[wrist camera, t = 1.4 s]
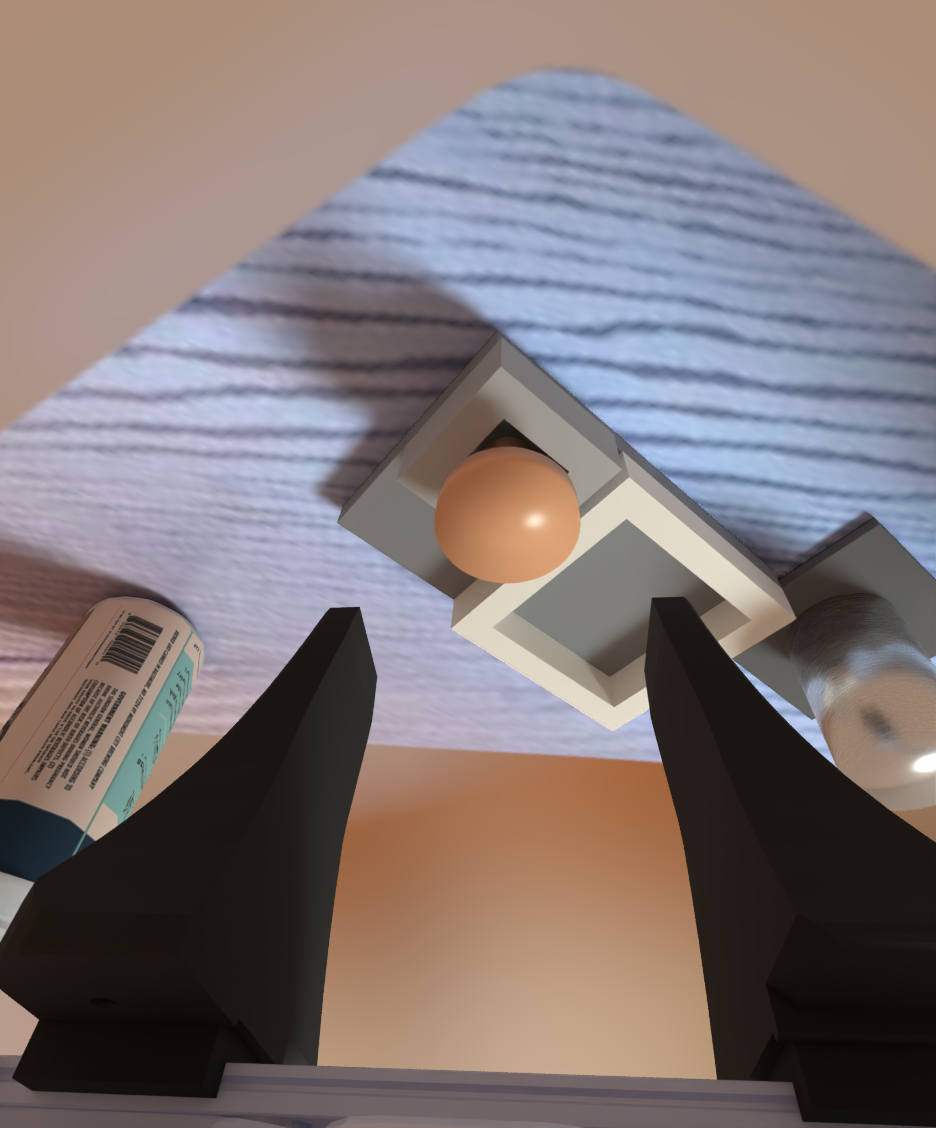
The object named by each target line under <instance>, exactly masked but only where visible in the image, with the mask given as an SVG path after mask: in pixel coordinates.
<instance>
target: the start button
mask: <svg viewBox="0 0 936 1128" xmlns="http://www.w3.org/2000/svg"><path fill="white" fill-rule="evenodd" d="M580 526H581V523H580V512H579V505H578V498H577V493H576V490H575V487H574V485H573V483H572V481H571V479H570V477H569V476H568V475H567V473H566V472H565V471H564V470H563V469H562V468H561V467H560V466H559V465H558V464H557V463H556V462H554V461H553V460H551V459H550V458H548V457H546V456H544V455H543V454H540V453H538V452H535V451H533V450H532V448H531V447H530V446H529V445H528V444H527V443H526V442H524V441H522V440H520V439H518V438H514V437H502V438H498V439H496V440H493V441H492V442H490V443H489V444H488V445H487V446H486V447H485V448H484V449H483V451H480V452H477V453H475V454H473V455H471V456H469V457H467V458H465V459H464V460H462V461H461V462H460V463H458V464H457V465H456V466H455V467H454V468H453V469H452V470H451V471H450V472H449V474H448V475H447V476H446V478H445V479H444V481H443V483H442V485H441V488H440V490H439V494H438V498H437V504H436V510H435V518H434V530H435V535H436V539H437V541H438V544H439V546H440V548H441V550H442V551H443V553H444V554H445V555H446V557H447V558H448V559H449V560H450V561H451V562H452V563H453V564H454V565H455V566H456V567H458V568H459V569H460V570H462V571H464V572H465V573H467V574H469V575H471V576H473V577H475V578H478V579H481V580H484V581H489V582H494V583H521V582H526V581H530V580H534V579H537V578H539V577H542V576H544V575H546V574H548V573H550V572H551V571H553V570H554V569H556V568H557V567H558V566H560V565H561V564H562V563H563V562H564V561H565V560H566V559H567V558H568V556H569V555H570V554H571V552H572V551H573V549H574V548H575V545H576V543H577V541H578V537H579V534H580Z"/></svg>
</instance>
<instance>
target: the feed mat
mask: <svg viewBox="0 0 936 1128" xmlns="http://www.w3.org/2000/svg"><path fill="white" fill-rule="evenodd" d="M778 581H779V583H780V585H781V587H782V589H783V592H784V594H785V596H786V598H787V600H788V602H789V604H790V606H791V608H792V610H793V612H794V615H795V617H796V618H797V617H798V616H799V615H800V614H801V613H802V612H803V611H805V610H806V609H808V608H809V607H811V606H813V605H814V604H816V603H818V602H820V601H823V600H825V599H828V598H831V597H834V596H838V595H843V594H851V593H866V594H872V595H877V596H880V597H882V598H885V599H886V600H888V601H890V602H891V603H892V604H893V605H894V606H895V607H896V608H897V610H898V611H899V613H900V614H901V616H902V617H903V619H904V620H905V622H906V623H907V625H908V626H909V628H910V629H911V631H912V632H913V634H914V635H915V637H916V638H917V640H918V641H919V643H920V644H921V646H922V647H923V649H924V650H925V652H926V653H927V655H928V656H929V658H932V657H934V656H936V579H935V578H934V577H933V576H932V575H931V574H930V573H929V572H928V571H927V570H926V569H925V568H924V567H923V566H922V565H921V564H920V563H919V562H918V561H917V560H916V559H915V558H914V557H913V556H912V555H911V554H910V553H909V552H908V551H907V550H906V549H905V548H904V547H903V546H902V545H901V544H900V543H899V542H898V541H897V540H896V539H895V538H894V537H893V536H892V535H891V534H890V533H889V532H888V531H887V530H886V529H885V528H884V527H883V526H882V525H881V524H880V523H879V522H878V521H877V520H876V519H875V518H873V519H871V520H870V521H868V522H867V523H865V524H864V525H862V526H861V527H859V528H858V529H856V530H855V531H853V532H852V533H850V534H848V535H847V536H845V537H844V538H842V539H841V540H839V541H838V542H836V543H835V544H833V545H832V546H830V547H829V548H827V549H826V550H824V551H822V552H821V553H819V554H818V555H816V556H815V557H813V558H812V559H810V560H809V561H807V562H806V563H804V564H803V565H801V566H800V567H798V568H796V569H795V570H793V571H792V572H790V573H789V574H787V575H786V576H784V577H783V578H781V579H780V580H778ZM792 622H793V621H792ZM792 622H791V623H789V624H787V625H786V626H784V627H783V628H781V629H779V630H778V631H776V632H774V633H773V634H771V635H769V636H768V637H766V638H765V639H763V640H761V641H760V642H758V643H756V644H755V645H753V646H752V647H750V648H748V649H747V650H745V651H743V652H742V653H740V654H738V655H737V656H735V657H734V658H732V659H733V660H734V661H735V662H737V663H738V664H739V665H741V666H742V667H743V668H745V669H746V670H747V671H749V672H750V673H751V674H752V675H754V676H755V677H756V678H758V679H759V680H760V681H762V682H763V683H764V684H766V685H767V686H768V687H770V688H771V689H772V690H773V691H775V692H776V693H777V694H779V695H780V696H781V697H783V698H784V699H785V700H787V701H788V702H789V703H790V704H792V705H793V706H794V707H796V708H797V709H798V710H800V711H801V712H802V713H804V714H805V715H806V716H807V717H809V718H810V719H811V720H813V719H815V716H814V713H813V711H812V709H811V707H810V704H809V702H808V700H807V697H806V695H805V693H804V691H803V688H802V686H801V684H800V681H799V679H798V677H797V675H796V672H795V670H794V668H793V665H792V663H791V661H790V659H789V656H788V654H787V652H786V649H785V635H786V633H787V630H788V628H789V627H790V625H791V624H792Z"/></svg>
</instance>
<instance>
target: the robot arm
mask: <svg viewBox="0 0 936 1128" xmlns="http://www.w3.org/2000/svg"><path fill="white" fill-rule="evenodd" d="M644 673H645V681H646V688H647V695H648V702H649V709H650V715H651V720H652V724H653V728H654V732H655V736H656V740H657V743H658V747H659V751H660V755H661V758H662V762H663V766H664V770H665V773H666V777H667V781H668V784H669V788H670V791H671V796H672V799H673V803H674V807H675V811H676V814H677V818H678V822H679V826H680V831H681V835H682V839H683V844H684V850H685V856H686V862H687V868H688V874H689V881H690V887H691V893H692V898H693V906H694V912H695V919H696V925H697V932H698V938H699V945H700V952H701V959H702V966H703V974H704V981H705V987H706V995H707V1002H708V1009H709V1017H710V1026H711V1034H712V1042H713V1049H714V1057H715V1064H716V1074H717V1080H711V1079H682V1078H653V1077H624V1076H623V1077H622V1076H595V1075H594V1076H593V1075H565V1074H537V1073H536V1074H534V1073H508V1072H479V1071H450V1070H420V1069H392V1068H364V1067H361V1068H360V1067H335V1066H333V1067H332V1066H317V1059H318V1047H319V1036H320V1025H321V1014H322V1003H323V993H324V983H325V974H326V965H327V956H328V947H329V938H330V930H331V922H332V915H333V906H334V899H335V892H336V885H337V878H338V871H339V864H340V857H341V850H342V844H343V839H344V834H345V829H346V824H347V819H348V816H349V812H350V808H351V804H352V800H353V796H354V792H355V788H356V784H357V779H358V776H359V772H360V768H361V764H362V760H363V756H364V752H365V748H366V744H367V740H368V736H369V732H370V727H371V723H372V716H373V708H374V701H375V692H376V682H377V674H376V670H375V666H374V662H373V658H372V654H371V650H370V646H369V642H368V638H367V634H366V630H365V626H364V622H363V618H362V614H361V610H360V607H342V608H330V609H329V610H328V611H327V612H326V613H325V614H324V616H323V617H322V618H321V620H320V621H319V623H318V624H317V625H316V627H315V628H314V629H313V631H312V632H311V633H310V635H309V636H308V637H307V639H306V640H305V641H304V643H303V644H302V645H301V647H300V648H299V649H298V651H297V652H296V653H295V655H294V656H293V657H292V659H291V660H290V661H289V662H288V664H287V665H286V666H285V667H284V669H283V670H282V671H281V672H280V674H279V675H278V676H277V677H276V678H275V680H274V681H273V682H272V683H271V685H270V686H269V687H268V688H267V689H266V691H265V692H264V693H263V694H262V695H261V696H260V697H259V699H258V700H257V701H256V702H255V703H254V704H253V705H252V706H251V708H250V709H249V710H248V711H247V712H246V713H245V714H244V716H243V717H242V718H241V719H240V720H239V721H238V722H237V723H236V724H235V725H234V726H233V727H232V728H231V729H230V730H229V731H228V733H227V734H226V735H225V736H224V737H223V738H222V739H221V740H220V741H219V742H218V743H216V745H214V746H213V747H212V748H211V749H210V750H209V751H208V752H207V753H206V754H205V755H204V756H203V757H202V758H201V759H200V760H199V761H198V762H196V763H195V764H194V765H193V766H192V767H191V768H190V769H189V770H187V771H186V772H185V773H184V774H183V775H181V776H180V777H179V778H178V779H177V780H176V781H174V782H173V783H172V784H171V785H170V786H168V787H167V788H166V789H165V790H164V791H162V792H161V793H160V794H159V795H158V796H156V797H155V798H154V799H153V800H151V801H150V802H149V803H147V804H146V805H145V806H143V807H142V808H141V809H140V810H138V811H137V812H136V813H134V814H133V815H132V816H130V817H129V818H127V819H126V820H125V821H123V822H122V823H120V824H119V825H118V826H116V827H115V828H114V829H112V830H111V831H109V832H108V833H106V834H105V835H104V836H102V837H101V838H99V839H98V840H96V841H95V842H93V843H92V844H90V845H89V846H87V847H86V848H84V849H83V850H81V851H79V852H78V853H76V854H75V855H73V856H72V857H70V858H69V859H67V860H65V861H64V862H62V863H61V864H59V865H58V866H56V867H55V868H53V869H51V870H50V871H48V872H47V873H45V874H43V875H42V876H40V877H38V878H37V879H36V881H35V882H34V884H33V886H32V887H31V889H30V890H29V892H28V894H27V895H26V897H25V898H24V900H23V902H22V903H21V905H20V907H19V909H18V911H17V913H16V914H15V916H14V918H13V920H12V922H11V923H10V925H9V927H8V929H7V931H6V932H5V934H4V936H3V938H2V940H1V942H0V989H1V990H2V991H3V992H4V993H6V994H7V995H8V996H10V997H11V998H12V999H13V1000H15V1001H16V1002H17V1003H18V1004H20V1005H21V1006H22V1007H24V1008H25V1009H26V1010H28V1011H29V1012H30V1013H31V1014H33V1015H34V1016H35V1017H36V1018H38V1019H39V1022H38V1024H37V1026H36V1028H35V1030H34V1032H33V1034H32V1036H31V1038H30V1040H29V1043H28V1045H27V1047H26V1049H25V1051H24V1053H23V1055H22V1056H17V1055H15V1056H14V1055H0V1128H936V842H934V841H933V840H931V839H929V838H928V837H927V836H925V835H924V834H923V833H921V832H920V831H918V830H917V829H915V828H914V827H913V826H911V825H910V824H908V823H907V822H905V821H904V820H903V819H901V818H900V817H898V816H897V815H896V814H894V813H893V812H892V811H890V810H889V809H888V808H886V807H885V806H884V805H883V804H881V803H880V802H879V801H877V800H876V799H875V798H874V797H872V796H871V795H870V794H869V793H867V792H866V791H865V790H863V789H862V788H861V787H860V786H858V785H857V784H856V783H854V782H853V781H852V780H851V779H849V778H848V777H847V776H846V775H844V774H843V773H842V772H841V771H840V770H839V769H838V768H836V767H835V766H834V765H833V764H832V763H831V762H830V761H828V760H827V759H826V758H825V757H824V756H823V755H821V754H820V753H819V752H818V751H817V750H816V749H815V748H814V747H813V746H812V745H811V744H810V743H809V742H807V741H806V740H805V739H804V738H803V737H802V736H801V735H800V734H799V733H798V732H797V731H796V730H795V729H794V728H793V727H792V726H791V725H790V724H789V723H788V722H787V721H786V720H785V719H784V718H783V717H782V716H781V715H780V714H779V713H778V712H777V711H776V710H775V709H774V707H773V706H772V705H771V704H770V703H769V702H768V701H767V700H766V699H765V698H764V697H763V696H762V695H761V693H760V692H759V691H758V690H757V689H756V688H755V687H754V685H753V684H752V683H751V682H750V681H749V680H748V678H747V677H746V676H745V675H744V674H743V672H742V671H741V670H740V669H739V668H738V666H737V665H736V664H735V663H734V662H733V660H732V659H731V658H730V657H729V655H728V654H727V653H726V652H725V650H724V649H723V648H722V647H721V645H720V644H719V643H718V641H717V640H716V639H715V637H714V636H713V635H712V633H711V632H710V630H709V629H708V628H707V626H706V625H705V624H704V622H703V621H702V619H701V618H700V616H699V615H698V614H697V612H696V611H695V609H694V608H693V606H692V605H691V603H690V602H689V601H688V600H687V599H686V598H685V597H653V598H652V599H651V609H650V618H649V628H648V638H647V648H646V657H645V667H644Z"/></svg>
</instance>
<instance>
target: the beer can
mask: <svg viewBox="0 0 936 1128" xmlns="http://www.w3.org/2000/svg"><path fill="white" fill-rule="evenodd" d="M204 659H205V647H204V644H203V641H202V638H201V636H200V635H199V633H198V631H197V630H196V629H195V628H194V626H193V625H192V624H191V623H190V622H189V621H188V620H187V619H185V618H184V617H183V616H182V615H180V614H178V613H177V612H175V611H173V610H171V609H169V608H167V607H165V606H164V605H162V604H160V603H158V602H155V601H152V600H149V599H143V598H135V597H127V596H123V597H114V598H108V599H105V600H103V601H100V602H98V603H97V604H95V605H93V606H92V607H91V608H90V609H89V611H88V612H87V613H86V614H85V616H84V617H83V618H82V620H81V621H80V622H79V624H78V625H77V627H76V628H75V629H74V631H73V632H72V633H71V635H70V636H69V638H68V639H67V640H66V642H65V643H64V644H63V646H62V647H61V648H60V650H59V651H58V653H57V654H56V655H55V657H54V658H53V659H52V661H51V662H50V664H49V665H48V666H47V668H46V669H45V670H44V672H43V673H42V674H41V676H40V677H39V679H38V680H37V681H36V683H35V684H34V685H33V687H32V688H31V690H30V691H29V692H28V694H27V695H26V696H25V698H24V699H23V701H22V702H21V703H20V705H19V706H18V707H17V709H16V710H15V711H14V713H13V714H12V716H11V717H10V718H9V720H8V721H7V722H6V724H5V725H4V727H3V728H2V729H1V731H0V942H1V940H2V938H3V936H4V934H5V932H6V931H7V929H8V927H9V925H10V923H11V922H12V920H13V918H14V916H15V914H16V913H17V911H18V909H19V907H20V905H21V903H22V902H23V900H24V898H25V897H26V895H27V894H28V892H29V890H30V889H31V887H32V886H33V884H34V882H35V881H36V879H37V878H38V877H40V876H42V875H43V874H45V873H47V872H48V871H50V870H51V869H53V868H55V867H56V866H58V865H59V864H61V863H62V862H64V861H65V860H67V859H69V858H70V857H72V856H73V855H75V854H76V853H78V852H79V851H81V850H83V849H84V848H86V847H87V846H89V845H90V844H92V843H93V842H95V841H96V840H98V839H99V838H101V837H102V836H104V835H105V834H106V833H108V832H109V831H111V830H112V829H114V828H115V827H116V826H118V825H119V824H120V823H122V822H123V821H125V820H126V819H127V818H128V817H129V815H130V813H131V811H132V809H133V806H134V805H135V803H136V801H137V798H138V796H139V794H140V792H141V790H142V788H143V786H144V784H145V782H146V780H147V778H148V776H149V774H150V772H151V770H152V768H153V766H154V764H155V761H156V760H157V758H158V755H159V753H160V751H161V749H162V747H163V745H164V743H165V741H166V739H167V737H168V735H169V733H170V731H171V729H172V727H173V725H174V723H175V721H176V719H177V717H178V715H179V713H180V710H181V708H182V706H183V704H184V702H185V700H186V698H187V696H188V694H189V692H190V690H191V688H192V686H193V684H194V682H195V680H196V678H197V676H198V674H199V672H200V670H201V667H202V665H203V664H204Z"/></svg>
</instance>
